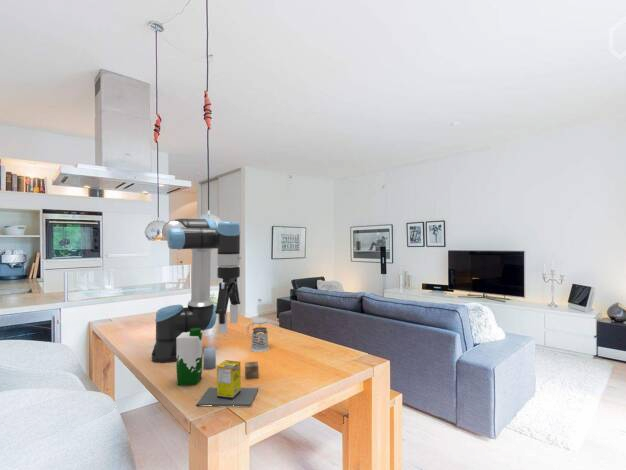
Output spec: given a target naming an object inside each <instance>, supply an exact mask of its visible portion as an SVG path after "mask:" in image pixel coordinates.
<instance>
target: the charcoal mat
mask: <svg viewBox="0 0 626 470" xmlns="http://www.w3.org/2000/svg"><path fill="white" fill-rule="evenodd" d="M258 392H259V388H258V387H241V392H240V393H239V394H238V395H237V396H236V397H235V398H234V399H233V400H232V399H224V398H217V387H208V388H207V389H206V391H205V392H204V394H203V395H202V396H201V397H200V399H199V400H198V401H197V403H196V406H197V405H212V406H211V407H217V406H233V405H234V406H251V405H252V406H253V404H254V401H255V399H256V397H255V396H257V394H258ZM252 403H253V404H252ZM252 406H251V407H252Z"/></svg>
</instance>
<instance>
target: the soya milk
mask: <svg viewBox="0 0 626 470" xmlns="http://www.w3.org/2000/svg"><path fill="white" fill-rule="evenodd" d="M176 343H177V361H176V381H177V383H176V384H177V385H179V386H197V385H198V384H197V383H199V381H200V380H201V379H202V374H203V373H202V372H203V331H201V328H192V329H190V332H184V333H181V334H180V335H179V336H178V337H177V338H176ZM196 384H197V385H196ZM177 385H176V386H177Z"/></svg>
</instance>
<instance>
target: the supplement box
mask: <svg viewBox="0 0 626 470" xmlns="http://www.w3.org/2000/svg"><path fill="white" fill-rule="evenodd" d="M241 380H242V379H241V361H240V360H239V361H238V360H228V359H225V360H223V361H222V362H220V364H218V365H216V388H217V398H224V399H232V400H233V399H234V398H235V397H236V396H237V395H238V394H239V393H240V392H241V388H242V385H241V383H242V381H241Z"/></svg>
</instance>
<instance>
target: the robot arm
mask: <svg viewBox="0 0 626 470" xmlns="http://www.w3.org/2000/svg"><path fill="white" fill-rule="evenodd" d="M161 229H162V230H161V234H162V236H163V238H164V240H165V241H167V246H168V249H170V250H191V284H190V285H191V290H190V291H191V295H190V297H191V298H190V300H189V301H188V302H187V307H184V306H183V304H173V305H172V304H171V305H168V306H164V307H161V308H160V309H158V310H157V311H156V313H155V319H154V320H155V343H154V345H153V349H152V353H151V355H150V356H151V359H152V360H151V362H153V361H154V363H158V362H160V363H161V364H164V363H166V362H167V363H173V362H177V343H176V338H177V337H178V336H179V335H180V334H181V333H184V332H190V329H192V328H201V332H204V331H207V330H212V329H213V328H214V326H215V325H216V322H217V321H218V324H217V325H218V327H217V329H218V333H217V334H219V335H220V334H221V335H227V334H228V312H227V310H228V307H229V324H238V323H239V305H240V304H241V300H240V293H239V287H238V278H240V277H241V270H240V269H241V267H240V264H241V259H242V256H240V253H241V252H240V248H241V245H240V244H241V230H240V229H241V228H240V223H239V222H237V221H220V222H218V223H216V221H215V220H214V219H209V218H175V219H172V220H169V221H168V222H166V223H165V224H164V225H163V226H162V228H161ZM213 249H217V258H216V259H217V260H216V262H217V263H216V265H217V266H218V267H217V271H216V272H217V274H216V275H217V278H218V279H222V282H219V283H218V295H217V301H216V304H214V301H213V300H212V299H211V270H212V269H211V265H212V261H211V259H212V250H213ZM229 301H230V302H229ZM229 303H230V305H229V306H228V304H229ZM217 315H218V316H217ZM217 317H218V320H217ZM160 363H159V364H160Z"/></svg>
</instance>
